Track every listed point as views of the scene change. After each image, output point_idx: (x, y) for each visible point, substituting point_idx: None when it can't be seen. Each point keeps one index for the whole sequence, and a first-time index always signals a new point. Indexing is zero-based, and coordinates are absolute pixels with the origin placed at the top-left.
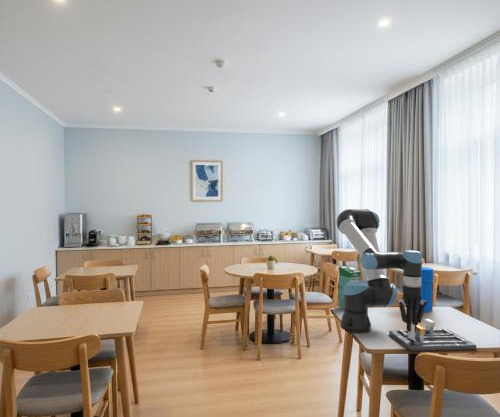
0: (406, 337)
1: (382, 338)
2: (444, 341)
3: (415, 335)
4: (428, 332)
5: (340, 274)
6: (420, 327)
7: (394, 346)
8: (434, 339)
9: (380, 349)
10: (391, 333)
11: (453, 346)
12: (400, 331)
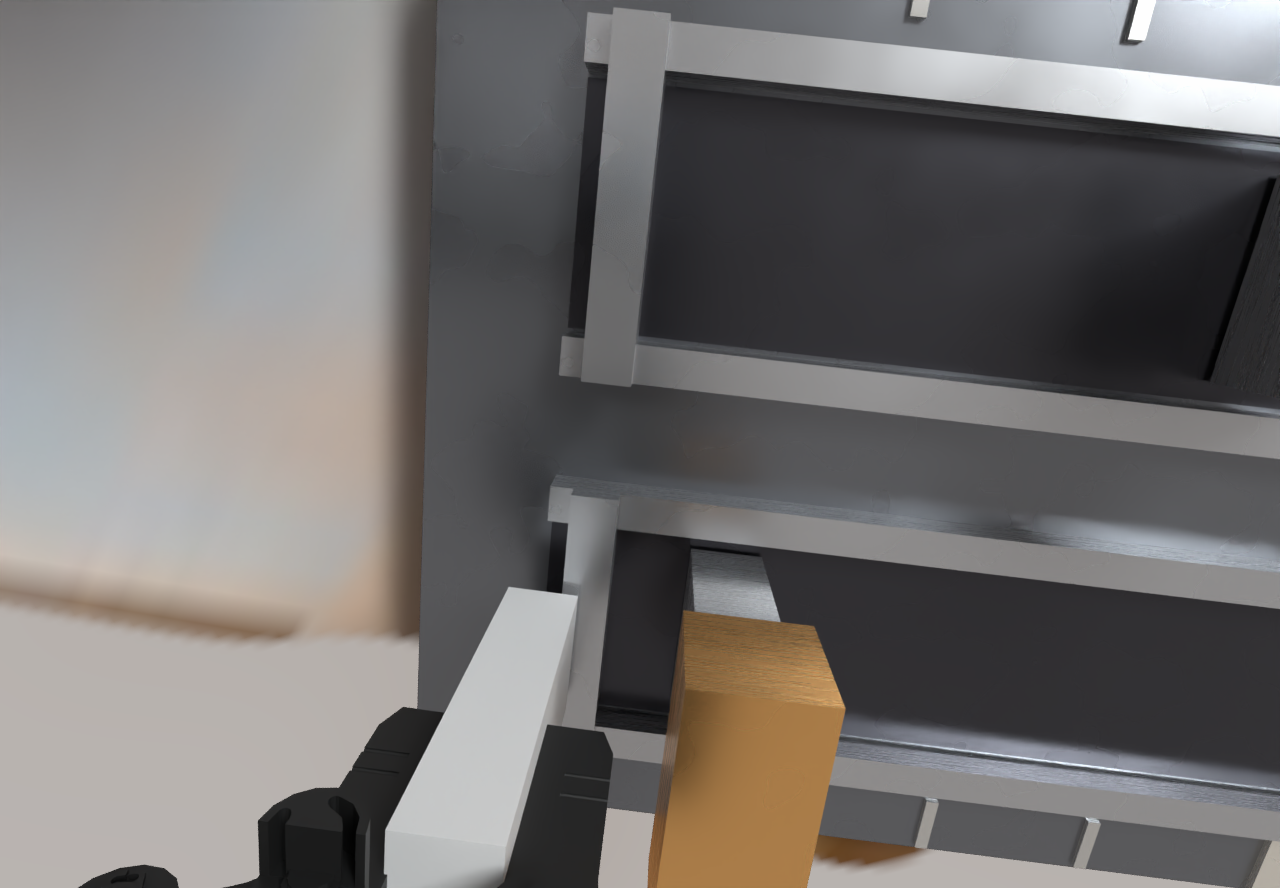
0: (588, 409)
1: (222, 143)
2: (1126, 803)
3: (691, 590)
4: (1258, 325)
5: None
6: (736, 883)
7: (277, 538)
8: (1078, 610)
9: (7, 602)
10: (446, 31)
11: (1158, 865)
12: (604, 133)
